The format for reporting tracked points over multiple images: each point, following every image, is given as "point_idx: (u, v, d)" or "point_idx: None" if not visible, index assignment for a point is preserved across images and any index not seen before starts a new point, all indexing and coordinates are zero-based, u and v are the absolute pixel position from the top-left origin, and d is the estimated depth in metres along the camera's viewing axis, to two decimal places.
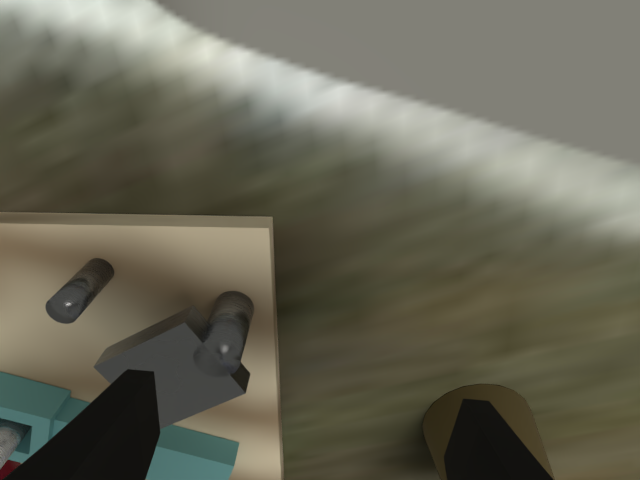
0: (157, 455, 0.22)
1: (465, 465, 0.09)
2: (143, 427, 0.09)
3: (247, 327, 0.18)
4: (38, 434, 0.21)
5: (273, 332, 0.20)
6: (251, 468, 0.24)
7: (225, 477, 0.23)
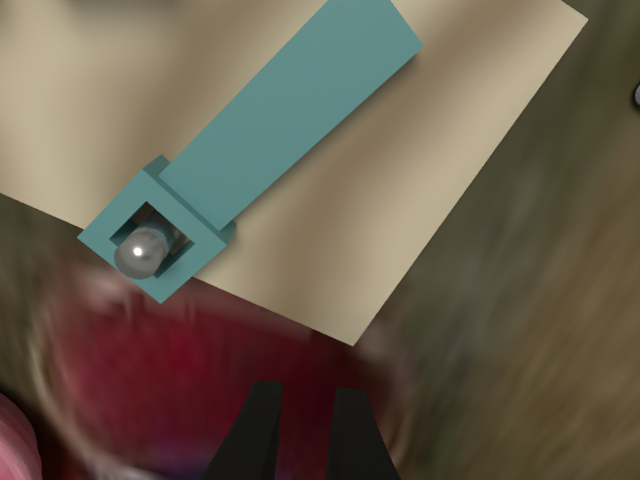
0: (280, 82, 0.13)
1: (332, 454, 0.09)
2: (277, 438, 0.09)
3: None
4: (163, 204, 0.15)
5: None
6: None
7: (381, 1, 0.12)
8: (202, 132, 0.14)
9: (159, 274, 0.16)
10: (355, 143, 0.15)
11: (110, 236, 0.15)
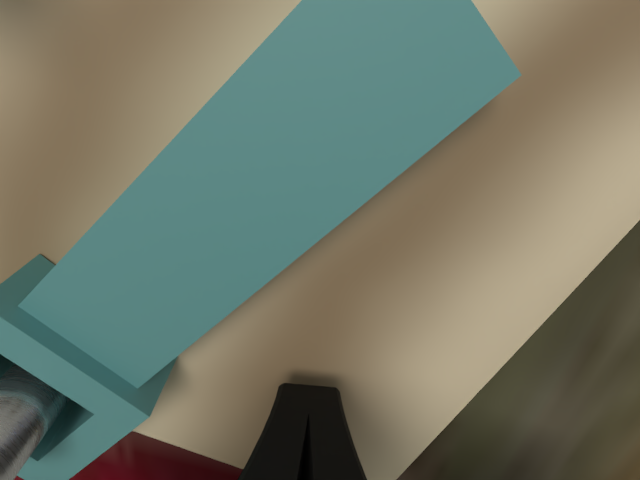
0: (229, 146, 0.07)
1: (304, 452, 0.09)
2: None
3: None
4: (28, 357, 0.08)
5: None
6: None
7: None
8: (88, 235, 0.07)
9: (44, 450, 0.10)
10: (372, 235, 0.09)
11: None
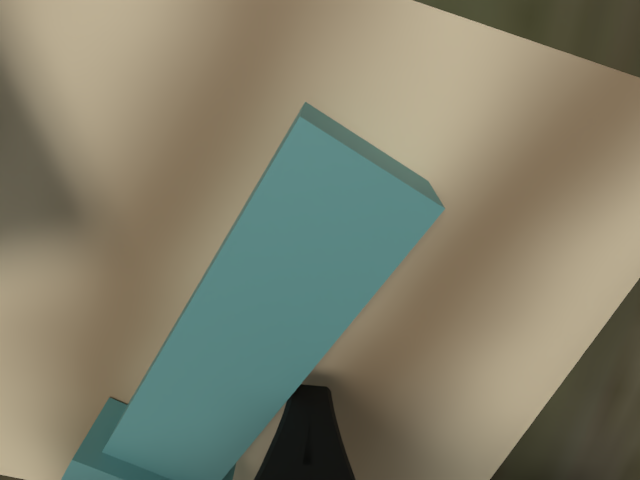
0: (226, 311, 0.08)
1: None
2: None
3: None
4: None
5: None
6: (469, 129, 0.08)
7: (350, 162, 0.07)
8: (139, 393, 0.09)
9: None
10: (386, 344, 0.10)
11: None
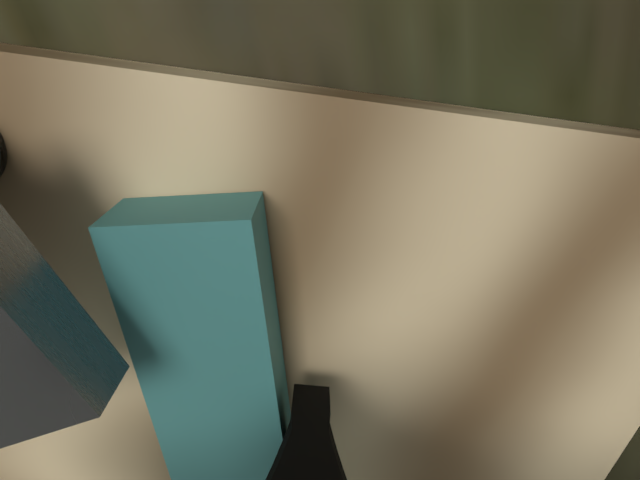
0: (174, 393, 0.09)
1: None
2: None
3: None
4: None
5: (18, 55, 0.07)
6: (530, 210, 0.09)
7: (151, 234, 0.07)
8: None
9: None
10: (471, 401, 0.11)
11: None
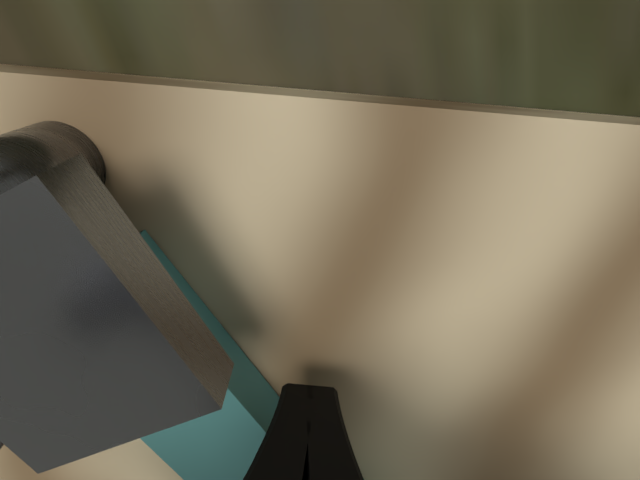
0: None
1: None
2: None
3: None
4: None
5: (121, 83, 0.08)
6: (593, 203, 0.09)
7: None
8: None
9: None
10: (534, 387, 0.11)
11: None
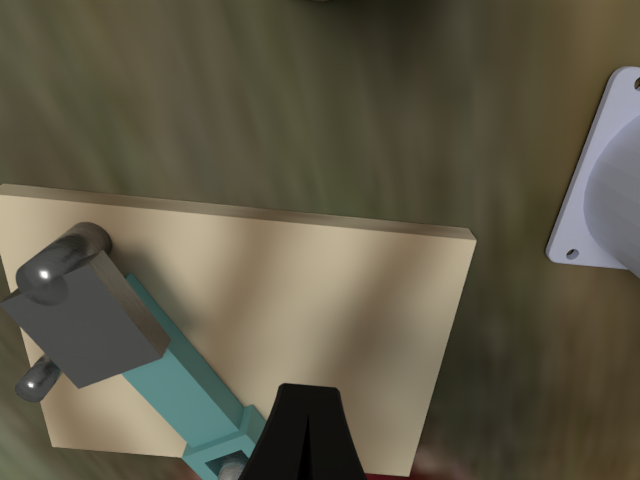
0: (136, 372, 0.19)
1: (304, 451, 0.09)
2: None
3: (61, 239, 0.16)
4: (208, 456, 0.21)
5: (120, 206, 0.17)
6: (354, 264, 0.18)
7: None
8: (165, 418, 0.21)
9: None
10: (346, 359, 0.21)
11: None
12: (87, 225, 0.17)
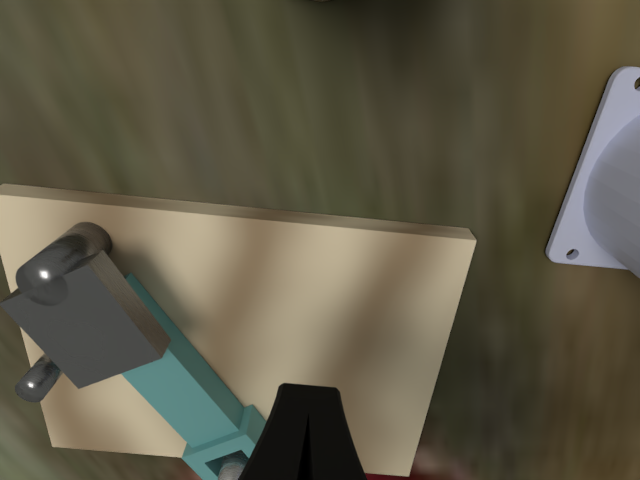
0: (136, 372, 0.19)
1: (304, 451, 0.09)
2: None
3: (61, 239, 0.16)
4: (208, 456, 0.21)
5: (120, 206, 0.17)
6: (354, 264, 0.18)
7: None
8: (165, 418, 0.21)
9: None
10: (346, 359, 0.21)
11: None
12: (87, 225, 0.17)
